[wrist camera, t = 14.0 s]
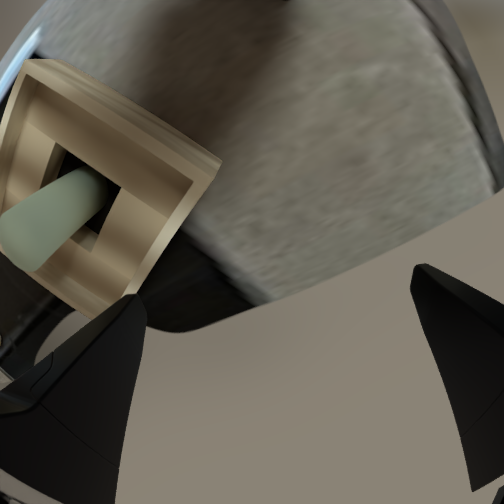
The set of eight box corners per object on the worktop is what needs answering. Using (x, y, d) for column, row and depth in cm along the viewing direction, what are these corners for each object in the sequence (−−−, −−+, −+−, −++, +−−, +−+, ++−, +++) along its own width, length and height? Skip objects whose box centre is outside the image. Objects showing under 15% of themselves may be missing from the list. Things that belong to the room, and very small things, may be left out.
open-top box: (61, 59, 15) (25, 59, 11) (222, 161, 19) (213, 178, 16) (9, 213, 21) (-19, 233, 17) (128, 300, 26) (112, 332, 22)
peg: (79, 156, 19) (2, 197, 11) (116, 182, 20) (48, 235, 12) (63, 196, 21) (-5, 248, 13) (97, 220, 22) (37, 283, 14)
